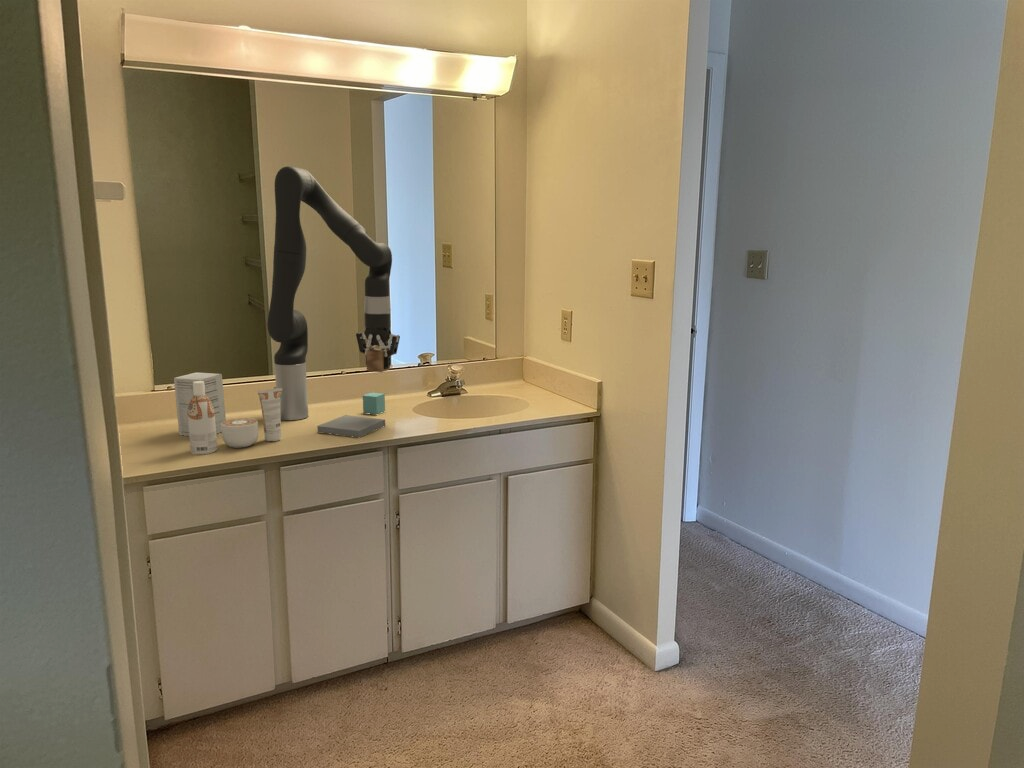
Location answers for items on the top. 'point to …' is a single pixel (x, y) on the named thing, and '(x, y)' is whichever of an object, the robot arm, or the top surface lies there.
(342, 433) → the slate base
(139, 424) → the top surface
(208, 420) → the cosmetic set
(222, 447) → the top surface
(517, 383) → the top surface
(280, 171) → the robot arm
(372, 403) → the teal block
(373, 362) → the walnut block
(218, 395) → the supplement box
